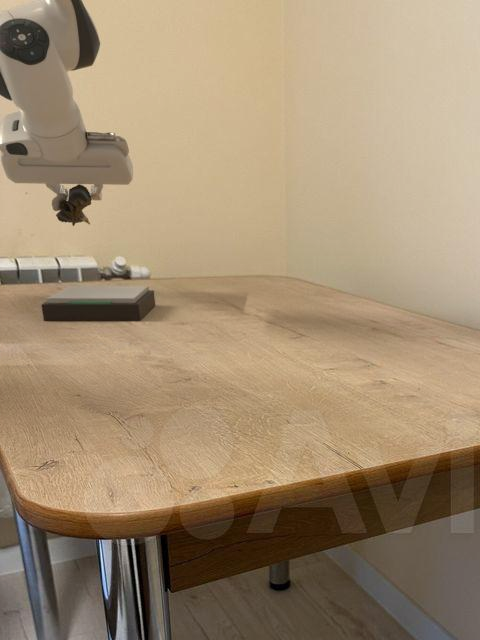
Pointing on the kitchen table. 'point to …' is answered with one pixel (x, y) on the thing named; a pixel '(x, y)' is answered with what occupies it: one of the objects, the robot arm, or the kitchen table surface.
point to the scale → (99, 303)
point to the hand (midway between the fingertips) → (80, 197)
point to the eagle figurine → (72, 205)
